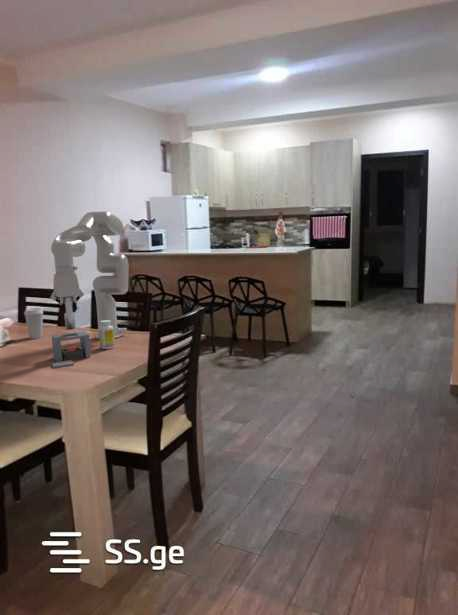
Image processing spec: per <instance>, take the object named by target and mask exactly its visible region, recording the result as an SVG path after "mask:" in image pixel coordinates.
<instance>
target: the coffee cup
mask: <svg viewBox="0 0 458 615" xmlns="http://www.w3.org/2000/svg"><path fill="white" fill-rule="evenodd" d="M23 315H24V318H25V322H26V327H27V331H28V332H27V333H28V337H29V339H31V340H37V339H42V338H43V335H44V334H43V332H44V331H43V330H44V327H43V324H44V323H43V322H44V321H43V319H44V318H43V317H44V316H43V315H44V311H43V309H42V308H41V307H33V308H27V309H25V310H24V312H23Z"/></svg>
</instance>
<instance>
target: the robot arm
mask: <svg viewBox="0 0 458 615" xmlns="http://www.w3.org/2000/svg"><path fill="white" fill-rule="evenodd" d="M123 224H124V223H123V221H122V220H121V219H120V217H118V216H116V215H115V214H114V213H112V212H109V211H90V212H87V213H85V214H84V215H83V217H81V219H80V220H79V222H78V223H77V224H76V225H74V226H72V227H70V228H68V229H67V230H64V231H62V232H60V233H59V234H57V235H56V237H55V238H54V240H53V241H52V243H51V246H50V247H51V248H50V249H51V250H50V251H51V253H52V255H53V259H54V269H55V270H54V271H55V273H54V274H53V280H52V281H53V284H52V285H53V291H52V293H51V296H50V299H51V300H53V301H54V302H56V303H58V304H59V310H60V313H62V314H65V307H64V304H63V297H71V296H72V298H73V309H74V313H76V312H77V310H78V305H77V303H78V302H79V300H80V299H81V298H82V297H84V296H85V294H84V292H83V291H82V290H81V289H80V283H79V280H78V279H79V278H78V275H77V273H76V272H75V271H77V270H78V266H75V265H74V258H78V257H82V256H84V254H85V253H86V243H85V242H88V241H89V240H91V239H92V237H93V239H94V242H95V244H96V269H97V272H99V273H100V274H117V275H99V276H96V277H95V278H94V279H93V280H92V287H93V291H94V296H95V303H96V314H97V327H98V328H97V329H98V332H99V327H100V326H101V324H100V321H103V320H110V321H111V324H110V325H111V326H112V327H113V331H114V339H117V338H120V337H121V336H122V333H123V332H124V333H125V332H127V331H128V329H127V327H118V320H117V319H118V318H117V317H118V316H117V306H116V305H117V304H116V303H117V302H116V301H115V299H114V297H113V296H112V295H125V294H126V293H127V292H128V290H129V266H130V264H129V259H128V257H127V256H126V255H124V254H123V253H115V245H114V242H113V241H112V239H111V238H110V237H111V236H113V237H114V236H115V237H116V236H120V235H121V234H122V233H123V231H124V225H123ZM109 236H110V237H109ZM95 338H96V339H98V340H100V339H99V333H97V334H95Z"/></svg>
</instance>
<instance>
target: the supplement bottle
mask: <svg viewBox="0 0 458 615" xmlns="http://www.w3.org/2000/svg"><path fill="white" fill-rule="evenodd" d="M100 324H101V326H100V327H99V331H98V334H99V339H98V340H99V347H100V349H102V350H111V349H114V348H115V338H114V331H113V327H112V326H111V325H110V324H111V321H110V320H103V321H100Z"/></svg>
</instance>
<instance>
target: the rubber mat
mask: <svg viewBox="0 0 458 615" xmlns="http://www.w3.org/2000/svg"><path fill="white" fill-rule="evenodd" d="M50 364H51V367H52V368H53V369H59V368H64V367H70V365H71V366H74V365H75V362H74V361H72V360H67V361H65V360H62V361H61V362H57V361H55V362H51V363H50Z"/></svg>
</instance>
